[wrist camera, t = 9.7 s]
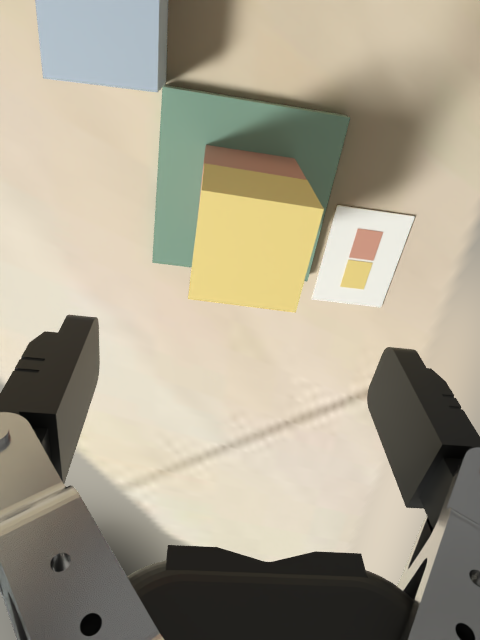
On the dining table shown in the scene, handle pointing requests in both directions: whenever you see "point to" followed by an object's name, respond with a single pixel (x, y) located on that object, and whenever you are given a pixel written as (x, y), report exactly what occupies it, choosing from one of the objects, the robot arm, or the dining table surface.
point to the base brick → (252, 162)
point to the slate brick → (104, 42)
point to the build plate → (235, 133)
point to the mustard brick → (253, 238)
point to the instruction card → (361, 256)
